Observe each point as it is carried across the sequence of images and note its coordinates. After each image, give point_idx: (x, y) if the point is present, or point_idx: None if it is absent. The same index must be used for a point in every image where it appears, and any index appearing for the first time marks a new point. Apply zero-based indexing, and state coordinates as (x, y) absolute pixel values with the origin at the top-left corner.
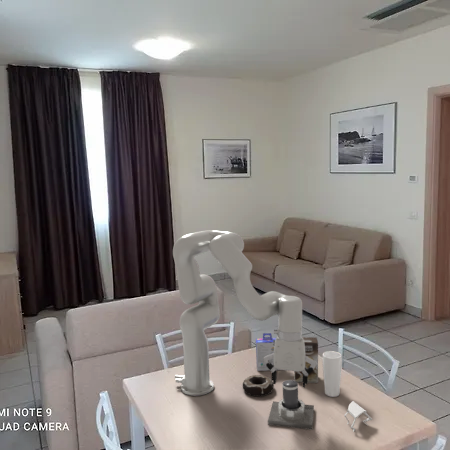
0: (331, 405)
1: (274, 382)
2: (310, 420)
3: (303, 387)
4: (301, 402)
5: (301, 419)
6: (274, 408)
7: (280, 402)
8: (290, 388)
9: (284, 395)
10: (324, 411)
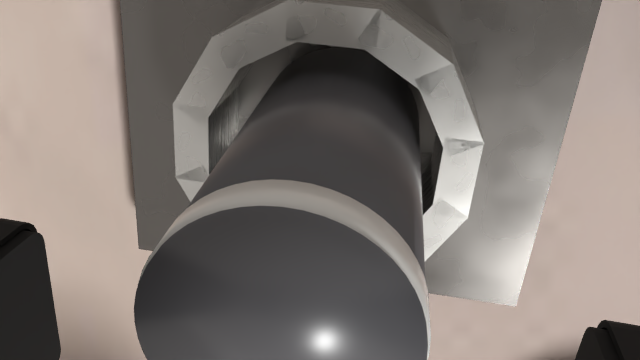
0: None
1: (623, 347)
2: None
3: (25, 222)
4: None
5: (229, 1)
6: (512, 188)
7: (453, 190)
8: (267, 194)
9: (399, 174)
10: (71, 205)
